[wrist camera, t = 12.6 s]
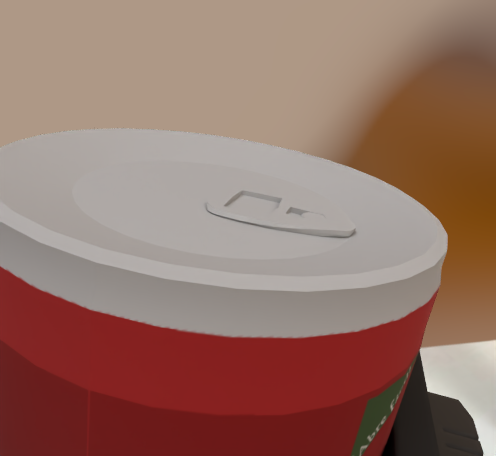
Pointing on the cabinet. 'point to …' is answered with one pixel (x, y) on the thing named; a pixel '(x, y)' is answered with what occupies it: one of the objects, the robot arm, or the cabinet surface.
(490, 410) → the cabinet surface
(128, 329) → the canned food
